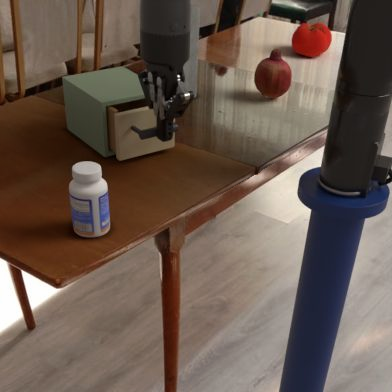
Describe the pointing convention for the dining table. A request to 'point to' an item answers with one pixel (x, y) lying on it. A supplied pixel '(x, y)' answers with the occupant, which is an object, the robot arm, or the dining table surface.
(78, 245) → the dining table surface
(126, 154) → the drawer
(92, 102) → the cabinet
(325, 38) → the tomato
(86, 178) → the pill bottle
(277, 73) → the fruit
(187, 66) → the hip flask
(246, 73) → the dining table surface
